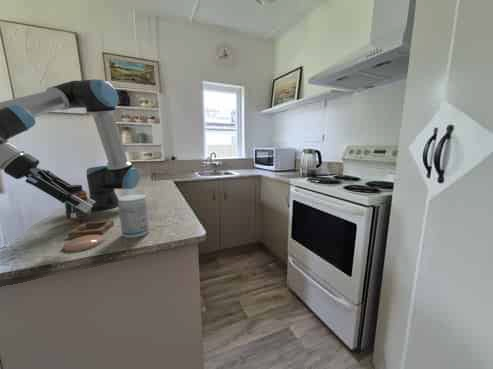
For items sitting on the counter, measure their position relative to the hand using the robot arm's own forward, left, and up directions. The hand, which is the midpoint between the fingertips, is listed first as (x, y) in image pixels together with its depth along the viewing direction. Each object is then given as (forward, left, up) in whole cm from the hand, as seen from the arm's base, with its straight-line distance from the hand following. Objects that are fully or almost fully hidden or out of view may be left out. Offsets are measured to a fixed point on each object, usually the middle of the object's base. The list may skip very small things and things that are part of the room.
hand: (90, 207), depth 72 cm
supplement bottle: (+1, -4, -4) cm, 5 cm away
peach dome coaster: (+1, -3, -13) cm, 13 cm away
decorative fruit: (-26, -18, -13) cm, 35 cm away
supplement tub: (-5, +12, -13) cm, 18 cm away
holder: (-11, -6, -13) cm, 18 cm away
